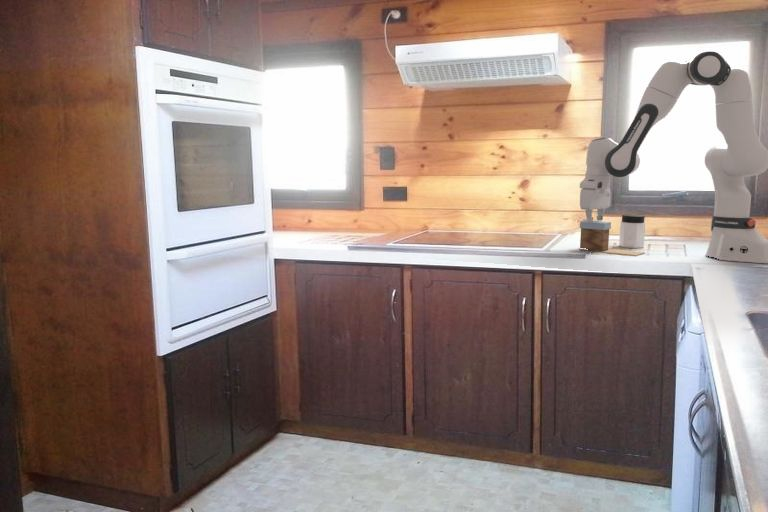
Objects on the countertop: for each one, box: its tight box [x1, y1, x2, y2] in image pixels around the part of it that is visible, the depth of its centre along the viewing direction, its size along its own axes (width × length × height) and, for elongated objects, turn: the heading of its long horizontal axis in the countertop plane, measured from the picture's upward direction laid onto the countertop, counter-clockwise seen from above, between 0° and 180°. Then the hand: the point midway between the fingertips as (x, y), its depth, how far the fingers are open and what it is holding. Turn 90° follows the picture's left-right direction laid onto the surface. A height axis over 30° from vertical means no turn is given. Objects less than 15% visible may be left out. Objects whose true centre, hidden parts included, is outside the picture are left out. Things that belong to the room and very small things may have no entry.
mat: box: [601, 248, 646, 257], centre depth 252 cm, size 12×9×1 cm
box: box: [579, 228, 610, 253], centre depth 258 cm, size 9×5×8 cm, turn 51°
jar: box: [618, 213, 646, 249], centre depth 268 cm, size 9×8×12 cm
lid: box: [579, 220, 612, 230], centre depth 258 cm, size 9×6×4 cm, turn 51°
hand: (594, 221), depth 257 cm, fingers open, 8 cm apart
